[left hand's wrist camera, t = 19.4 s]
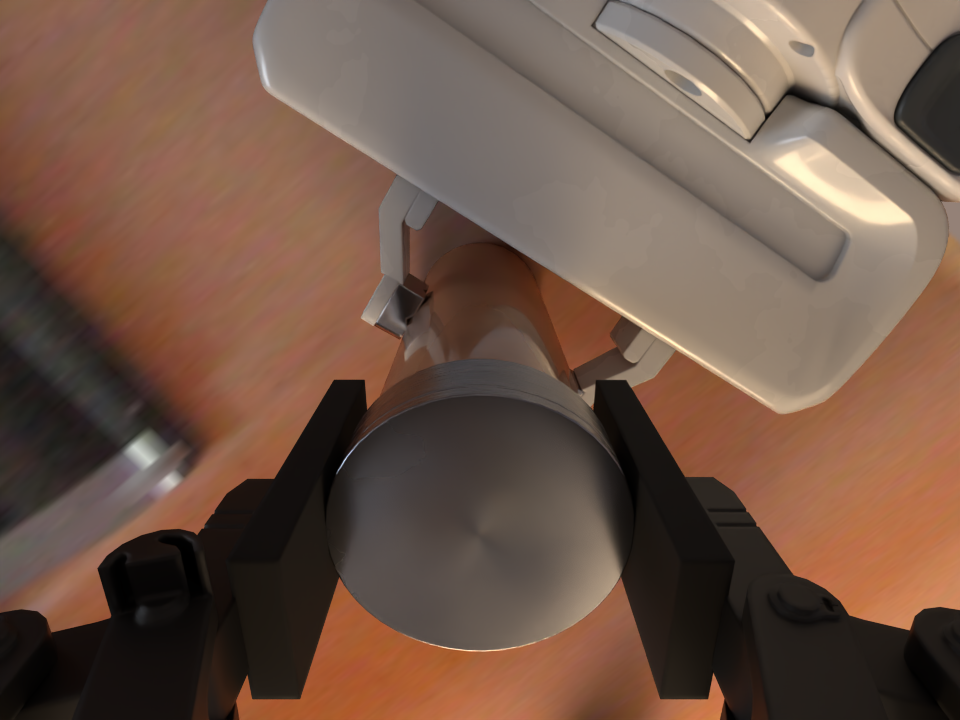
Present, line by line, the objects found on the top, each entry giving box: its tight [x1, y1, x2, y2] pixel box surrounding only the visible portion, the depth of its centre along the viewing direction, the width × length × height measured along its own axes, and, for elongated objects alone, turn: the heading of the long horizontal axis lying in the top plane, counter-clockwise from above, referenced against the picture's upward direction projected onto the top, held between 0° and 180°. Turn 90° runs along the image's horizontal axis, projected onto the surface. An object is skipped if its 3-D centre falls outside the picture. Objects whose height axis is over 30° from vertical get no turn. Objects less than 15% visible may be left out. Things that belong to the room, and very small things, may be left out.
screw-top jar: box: [380, 243, 580, 396], centre depth 19 cm, size 5×5×15 cm
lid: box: [325, 359, 635, 651], centre depth 11 cm, size 6×6×2 cm
